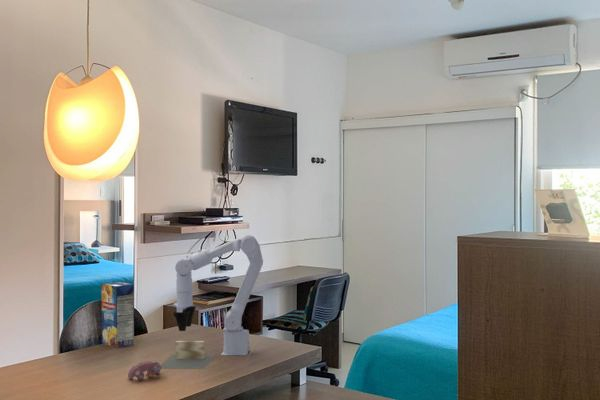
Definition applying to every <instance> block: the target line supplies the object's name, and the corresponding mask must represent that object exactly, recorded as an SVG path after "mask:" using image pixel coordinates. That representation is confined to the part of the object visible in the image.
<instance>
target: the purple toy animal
mask: <svg viewBox="0 0 600 400" xmlns="http://www.w3.org/2000/svg"><path fill="white" fill-rule="evenodd" d="M161 370H162V369H161V364H160V363H159V362H158V361H157V360H153V361H152V360H143V361H142V362H139V363H134V364H133V365H132V366H131V368H130V369H129V371H128V374H127V378H128V379H129V380H132V379H133V378H136V379H137V380H140V381H141V380H143V379H144V378H145V374H144V372H146V377H147V378H148V379H152V378H154V376H156V375H159V374H160V372H161Z"/></svg>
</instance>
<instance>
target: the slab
mask: <svg viewBox="0 0 600 400" xmlns="http://www.w3.org/2000/svg"><path fill="white" fill-rule="evenodd" d="M175 355H176V359H204V358H205V355H206V354H205V340H176V341H175Z"/></svg>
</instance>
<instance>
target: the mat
mask: <svg viewBox="0 0 600 400" xmlns="http://www.w3.org/2000/svg"><path fill="white" fill-rule="evenodd" d="M215 356H216V354H205V358H204V359H176V354H171V355H169V357H168V358H166V359H165V360H164V361H163V362H162V363H161V364H160V365H161V370H162V369H165V370H169V369H170V370H172V369H176V370H179V369H180V370H184V369H185V370H186V369H187V370H193V369H194V370H205V368H206V367H208V365H209V364H210V362H211V361H212V360H213V359H214V357H215Z"/></svg>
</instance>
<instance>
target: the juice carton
mask: <svg viewBox="0 0 600 400" xmlns="http://www.w3.org/2000/svg"><path fill="white" fill-rule="evenodd" d="M134 289H135V287H134V284H133V283H127V282H122V281H115V282H105V283H104V282H103V283H101V344H102V345H105V344H107V345H106V346H108V345H110V346H109V347H111V346H113V347H112V348H114V347H116V348H115V349H120V348H119V347H121V348H125V347H124V346H126V347H129V346H134V345H135V315H134V314H135V305H134V304H135V301H134V300H135V299H134V298H135V297H134V296H135V295H134V294H135V291H134Z"/></svg>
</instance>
